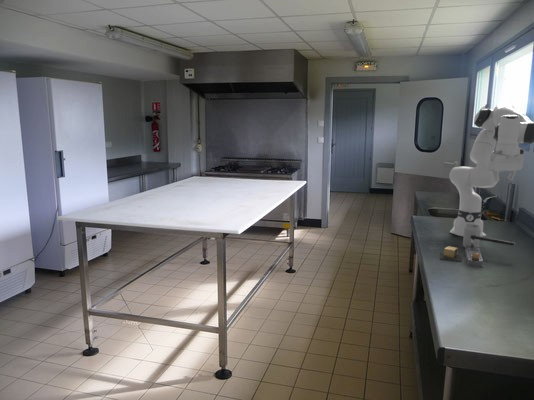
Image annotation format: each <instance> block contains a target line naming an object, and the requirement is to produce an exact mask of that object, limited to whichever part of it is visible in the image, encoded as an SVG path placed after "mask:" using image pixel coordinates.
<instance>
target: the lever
mask: <svg viewBox="0 0 534 400" xmlns="http://www.w3.org/2000/svg"><path fill="white" fill-rule="evenodd" d="M470 238H472V239H478V240H479V241H484V242H490V243H496V244H503V245H509V246H515V245H516V242H515V241H508V240H503V239H496V238H491V237H487V236H483V237H480V236H475V235H471V237H470Z"/></svg>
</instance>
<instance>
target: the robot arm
mask: <svg viewBox="0 0 534 400" xmlns="http://www.w3.org/2000/svg"><path fill="white" fill-rule="evenodd" d="M473 124H474V126H475V127H477V128H480V129H482V130H480V132H479V133H478V134H477V136H476V138H475V140H474V142H473V145H472V148H471V150H470V153H469V158H470V161H471V162H473V163H474V164H475V165H476V166H474V167H473V166H454V167H453V168H451V170H450V172H449V180H450V182H451V183H452V184H453V186H455V187H456V189H457V190H458V191H457V192H458V194H459V209H458V211H457V217H456V218H455V219H454V220H453V227H452V228H451V230H449V234H450V233H451V234H453V235H457V236H459V237H464V227H466V225H467V224H474V225H478V226H480V227H479V228H480V229H481V231H480V237H487V234H486V233H485V232H484V231H483V230H484V220H482V219H481V218H482V202H483V198H482V197H481V196H480V195H479V194H478V193H477V192H475V189H474V188H481V189H486V188H487V189H488V188H494V187H495V186H496V185H497V183H498V182H500V181H501V177H500V176H499V174H500V172H509V175H508V176H507V180H508V181H513V180H514V176H515V175H516V172H517V171H521V170H522V169H523V166H524V161H525V160H524V158H525V157H524V155H525V153H526V150H525V149H523V148H522V147H520V146H519V145H520V144H527V145H532V144H533V143H534V121H532V120H531V119H530V118H529V117H528V116H527V115H525V114H523V113H521V112H520V111H518V110H516V109H515V107H514V106H513V105H512V103H510V102H500V103H498V104H497V105H496V106H495V107H494V108H493V109H490V107H488V108H482V109H480V110H478V112H477V113H476V114H475V116H474V122H473ZM495 147H496V149H495Z"/></svg>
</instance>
